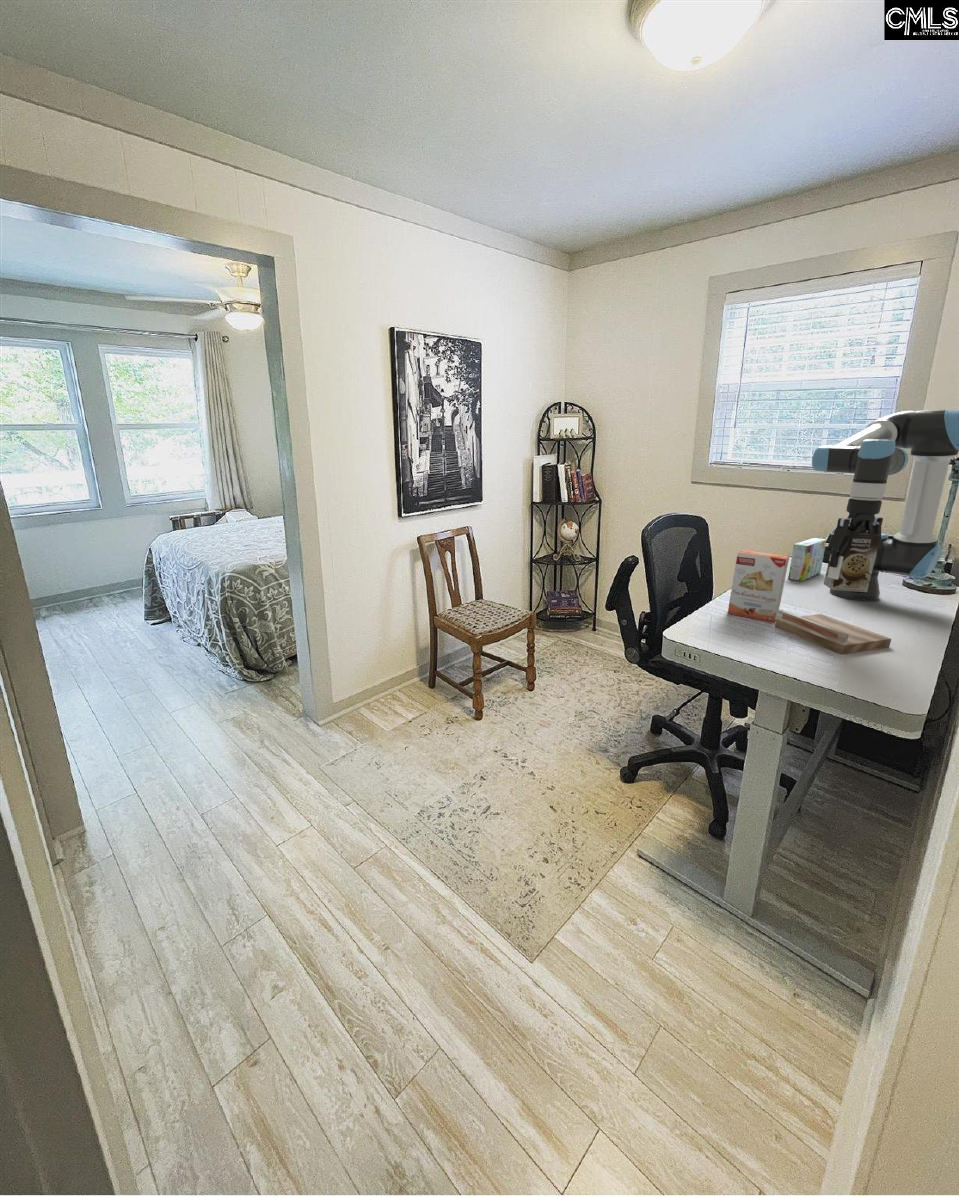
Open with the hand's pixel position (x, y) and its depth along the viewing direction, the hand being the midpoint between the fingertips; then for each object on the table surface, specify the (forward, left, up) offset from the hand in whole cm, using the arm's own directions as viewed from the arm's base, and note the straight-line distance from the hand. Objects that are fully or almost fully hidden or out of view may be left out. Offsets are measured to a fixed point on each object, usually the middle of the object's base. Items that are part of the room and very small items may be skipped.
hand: (847, 576), depth 150 cm
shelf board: (+2, 0, -18) cm, 18 cm away
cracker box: (+10, -21, -18) cm, 29 cm away
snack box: (-52, -57, -18) cm, 79 cm away
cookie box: (0, 0, -4) cm, 4 cm away
